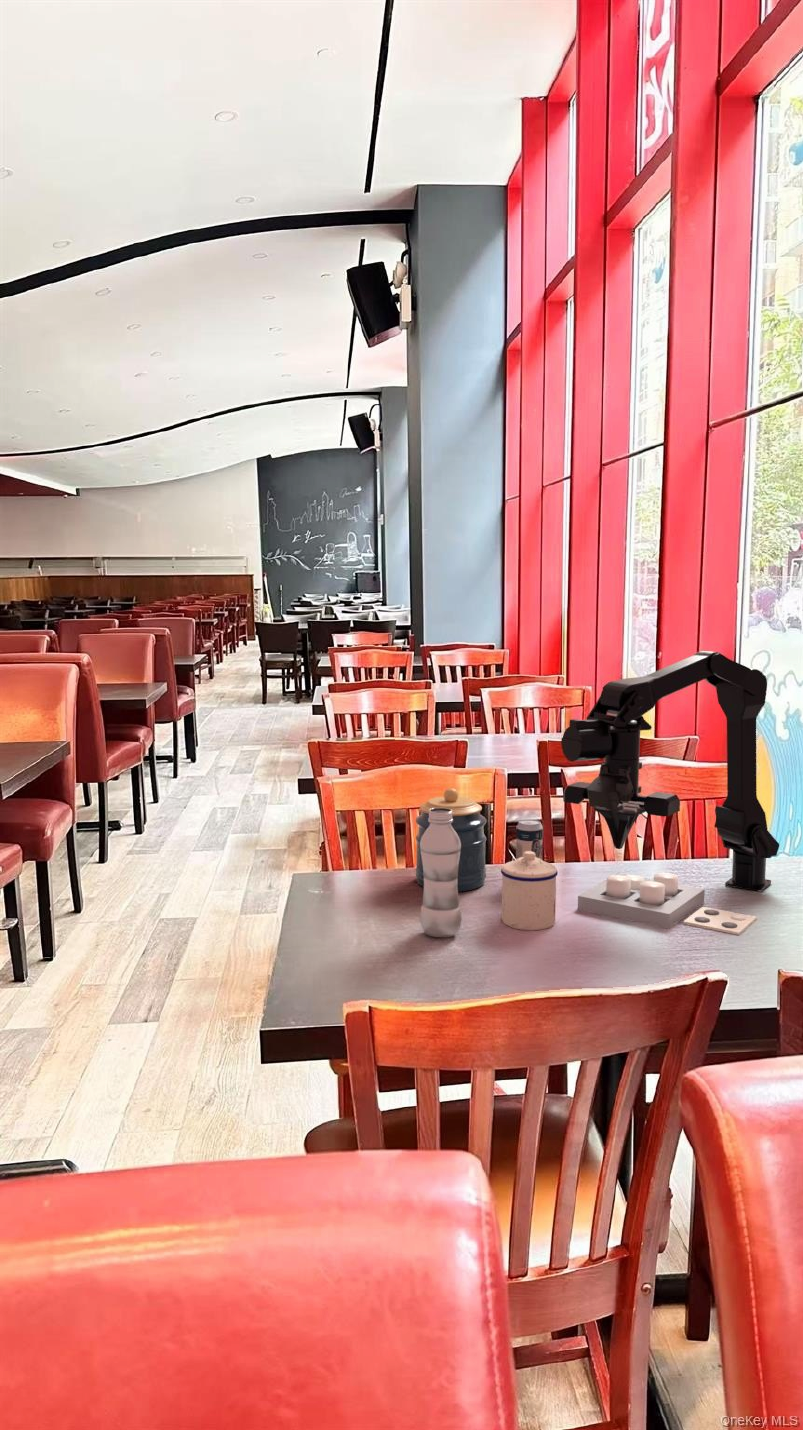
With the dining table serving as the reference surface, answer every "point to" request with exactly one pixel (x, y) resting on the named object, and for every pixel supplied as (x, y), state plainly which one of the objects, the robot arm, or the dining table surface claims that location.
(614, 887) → the button
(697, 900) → the board
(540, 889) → the teacup with lid
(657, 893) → the button
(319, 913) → the dining table surface
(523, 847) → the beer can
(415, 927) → the dining table surface
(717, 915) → the card
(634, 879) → the button
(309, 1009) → the dining table surface
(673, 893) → the button
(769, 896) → the dining table surface
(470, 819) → the canister
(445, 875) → the plastic bottle
